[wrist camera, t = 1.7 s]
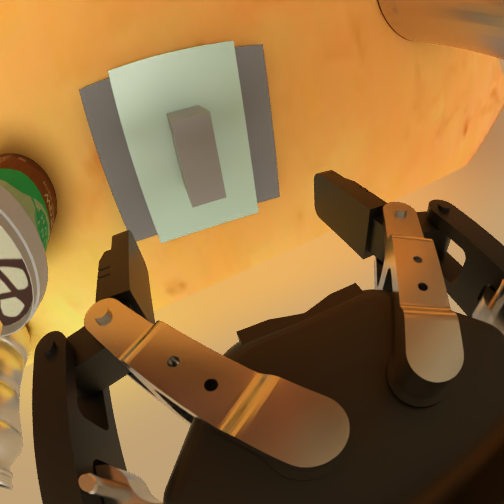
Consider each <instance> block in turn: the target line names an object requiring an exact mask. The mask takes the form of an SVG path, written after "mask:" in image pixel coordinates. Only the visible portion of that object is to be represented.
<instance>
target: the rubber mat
mask: <svg viewBox="0 0 504 504" xmlns="http://www.w3.org/2000/svg"><path fill="white" fill-rule="evenodd" d="M234 48H235V54H236V61H237V67H238V74H239V80H240V87H241V94H242V100H243V107H244V114H245V121H246V127H247V134H248V141H249V148H250V155H251V162H252V169H253V176H254V183H255V191H256V198H257V203H259V202H262V201H266V200H269V199H273V198H277V197H280V194H279V183H278V172H277V162H276V152H275V142H274V133H273V124H272V115H271V106H270V98H269V90H268V82H267V74H266V66H265V59H264V51H263V44H260V45H250V46H241V47H234ZM79 91H80V95H81V99H82V103H83V106H84V110H85V113H86V117H87V120H88V124H89V127H90V130H91V134H92V137H93V140H94V143H95V146H96V149H97V152H98V155H99V158H100V161H101V164H102V167H103V170H104V172H105V175H106V178H107V181H108V183H109V186H110V189H111V191H112V194H113V196H114V199H115V201H116V204H117V206H118V209H119V211H120V214H121V216H122V219H123V221H124V223H125V226H126V228H127V230H130V231H131V232H132V234H133V236H134V239H135V241H139V240H142V239H145V238H148V237H151V236H154V235H157V231H156V228H155V226H154V223H153V220H152V217H151V215H150V212H149V209H148V206H147V203H146V201H145V198H144V195H143V192H142V189H141V186H140V183H139V180H138V177H137V174H136V171H135V168H134V165H133V162H132V158H131V155H130V152H129V149H128V145H127V142H126V139H125V135H124V132H123V128H122V125H121V121H120V117H119V114H118V110H117V106H116V102H115V98H114V94H113V90H112V86H111V82H110V78H107V79H104V80H102V81H99V82H96V83H94V84H91V85H89V86H86V87H84V88H82V89H79Z"/></svg>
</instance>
